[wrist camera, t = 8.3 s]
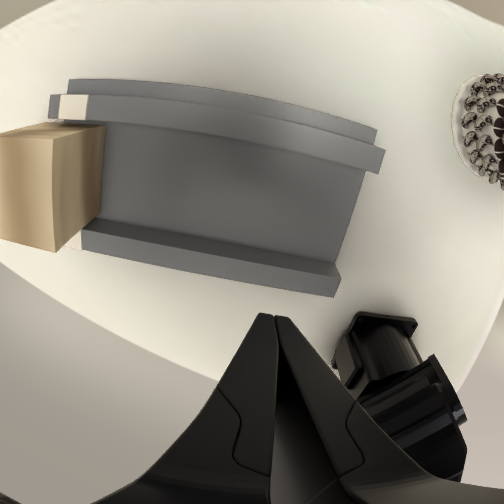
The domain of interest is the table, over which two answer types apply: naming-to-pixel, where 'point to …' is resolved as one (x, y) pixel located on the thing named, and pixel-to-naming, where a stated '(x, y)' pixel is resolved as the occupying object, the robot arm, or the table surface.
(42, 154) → the block
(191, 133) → the chute
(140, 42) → the table surface
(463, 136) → the banded tower model
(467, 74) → the table surface
